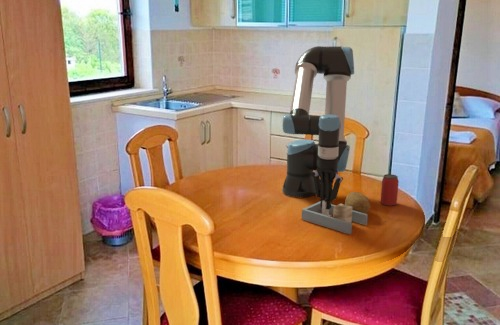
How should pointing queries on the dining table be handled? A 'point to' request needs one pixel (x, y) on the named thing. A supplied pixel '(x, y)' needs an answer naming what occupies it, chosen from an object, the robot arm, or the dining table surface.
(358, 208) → the potato
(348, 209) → the block
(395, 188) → the beer can
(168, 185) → the dining table surface
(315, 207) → the u-shaped frame
